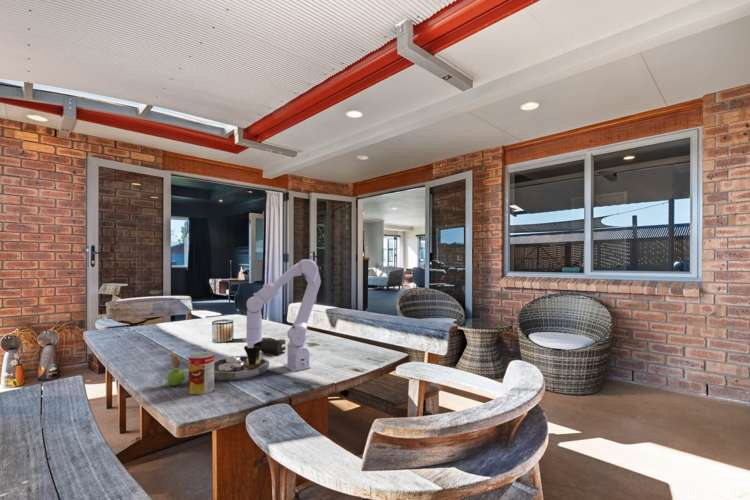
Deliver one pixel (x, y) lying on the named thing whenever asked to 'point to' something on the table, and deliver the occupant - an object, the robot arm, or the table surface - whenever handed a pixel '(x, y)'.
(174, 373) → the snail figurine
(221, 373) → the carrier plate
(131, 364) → the table surface
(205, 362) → the canned food
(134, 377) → the table surface
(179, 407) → the table surface
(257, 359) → the gold octagonal ring
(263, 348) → the end cap
